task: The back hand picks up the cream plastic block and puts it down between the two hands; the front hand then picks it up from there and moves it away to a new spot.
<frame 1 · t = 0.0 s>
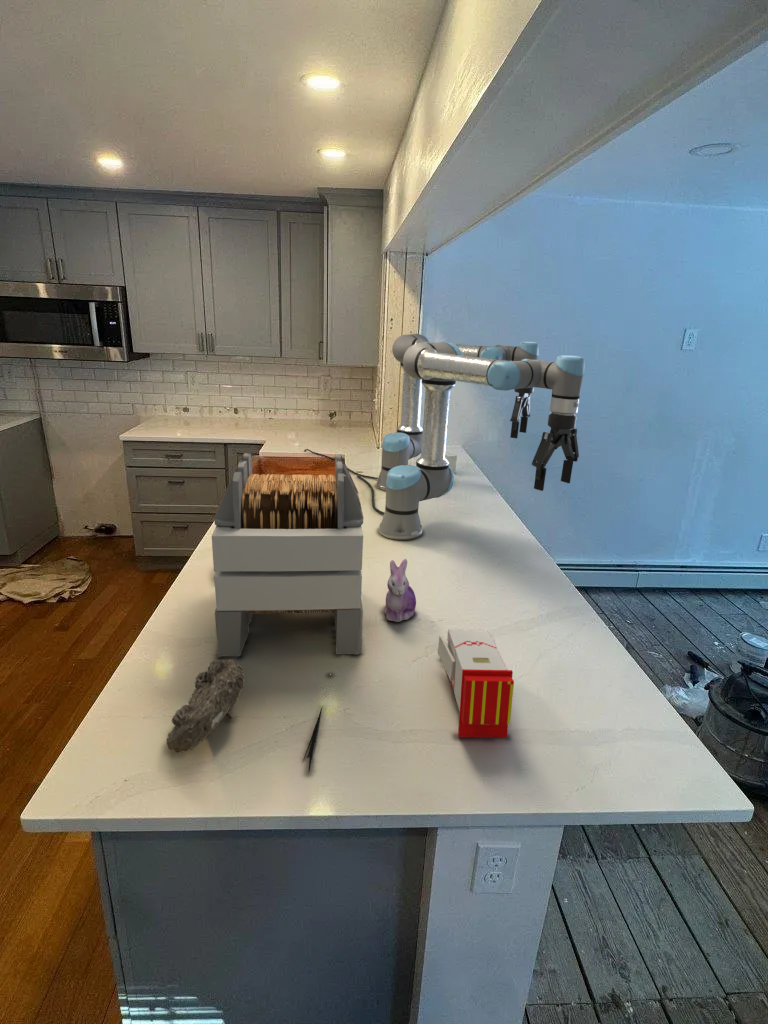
front hand: (552, 485, 166), 28 cm above the counter, tool pointing down, fingers open, 13 cm apart
back hand: (518, 435, 233), 28 cm above the counter, tool pointing down, fingers open, 13 cm apart
figurine: (399, 614, 147), on the counter
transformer: (293, 618, 143), on the counter
toy: (469, 691, 119), on the counter
block: (446, 471, 279), on the counter
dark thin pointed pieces: (319, 719, 109), on the counter
fossil: (212, 717, 108), on the counter
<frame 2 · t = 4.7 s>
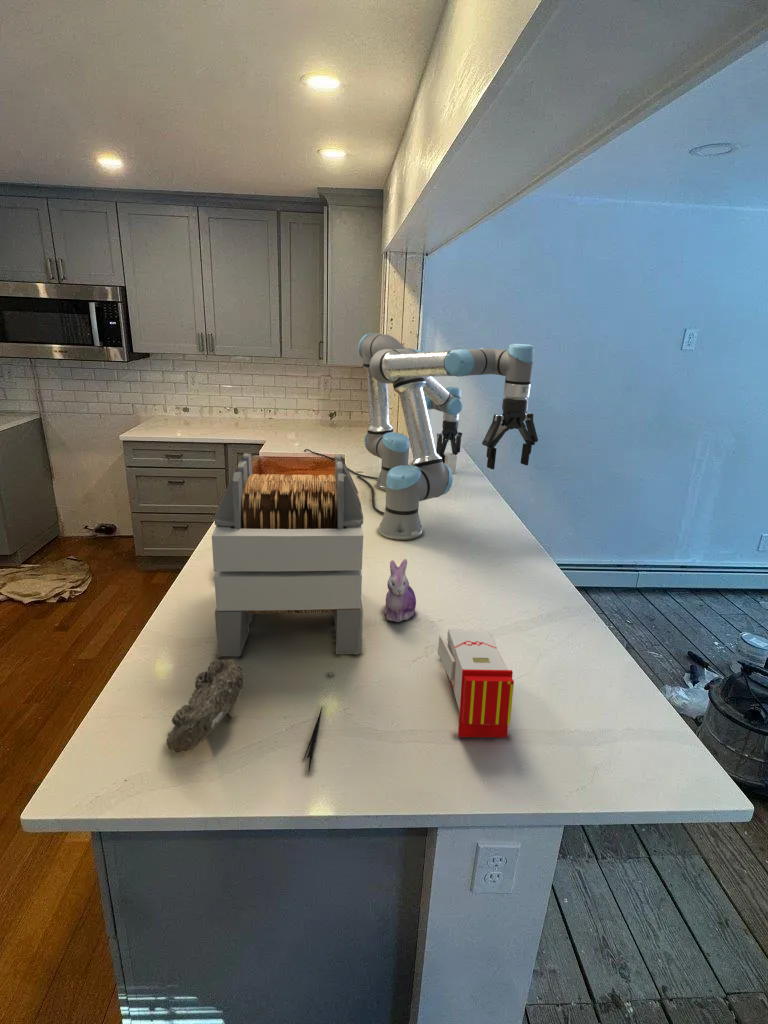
front hand: (507, 466, 177), 30 cm above the counter, tool pointing down, fingers open, 13 cm apart
back hand: (446, 467, 279), 2 cm above the counter, tool pointing down, fingers closed on block, 5 cm apart
block: (446, 471, 279), on the counter, touching back hand
everything else where it was.
when the back hand's fingers open (3 cm above the counter, at t = 13.8 s): block drops 1 cm, on the counter.
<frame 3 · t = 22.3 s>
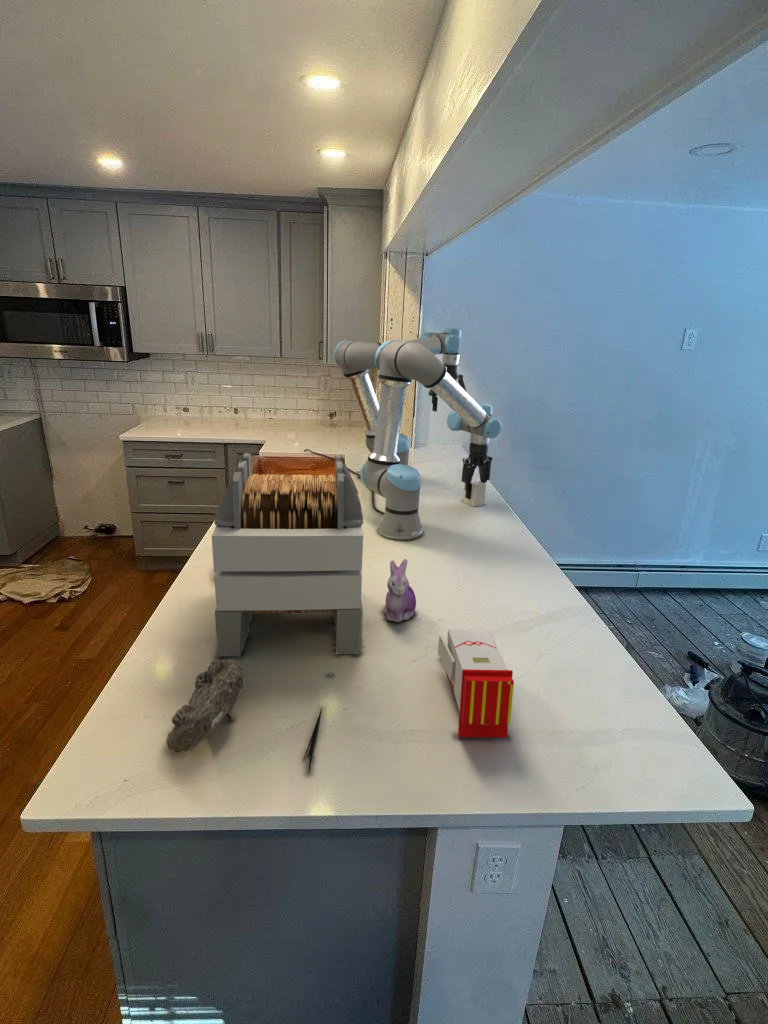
front hand: (473, 497, 235), 2 cm above the counter, tool pointing down, fingers closed on block, 5 cm apart
back hand: (446, 410, 266), 31 cm above the counter, tool pointing down, fingers open, 13 cm apart
block: (473, 502, 236), on the counter, touching front hand
everything else where it was.
when the front hand's fingers open (3 cm above the counter, at t = 34.0 s): block drops 1 cm, on the counter.
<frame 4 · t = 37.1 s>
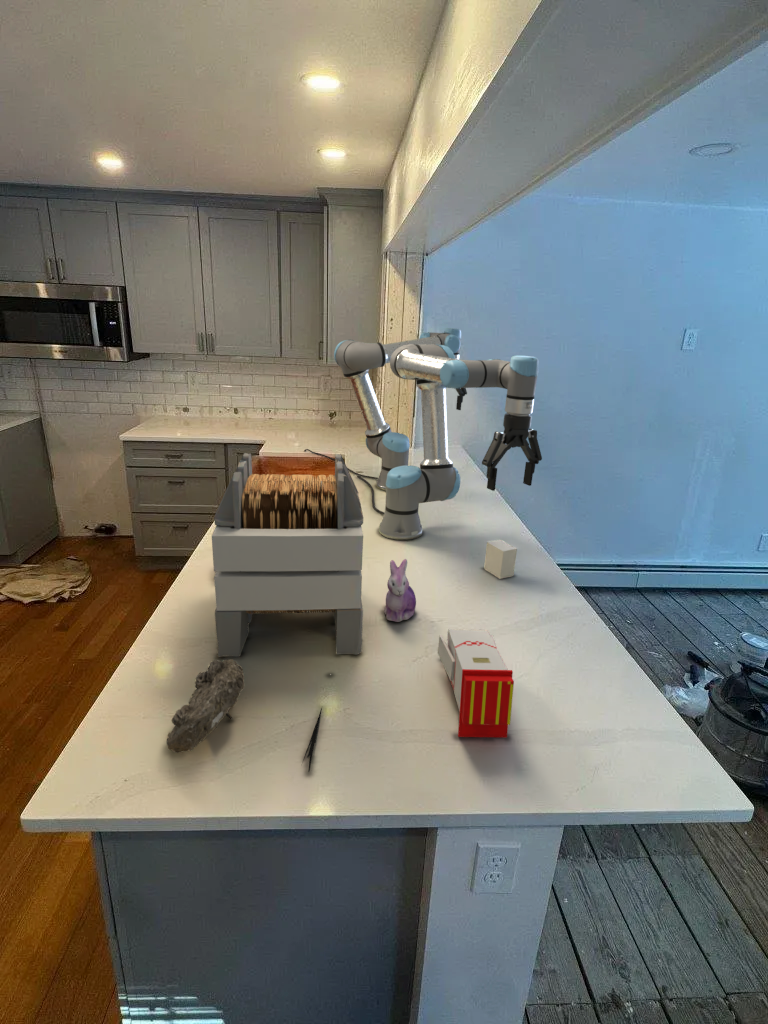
front hand: (509, 486, 164), 27 cm above the counter, tool pointing down, fingers open, 13 cm apart
back hand: (446, 410, 266), 31 cm above the counter, tool pointing down, fingers open, 13 cm apart
block: (498, 572, 174), on the counter
everything else where it was.
at the end: block inside the target area (0.1 cm from its centre), on the counter; block tilted 0°; the two hands never held the block at the same time; the front hand is holding nothing; the back hand is holding nothing; block at rest at the end (0.0 cm/s) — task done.
